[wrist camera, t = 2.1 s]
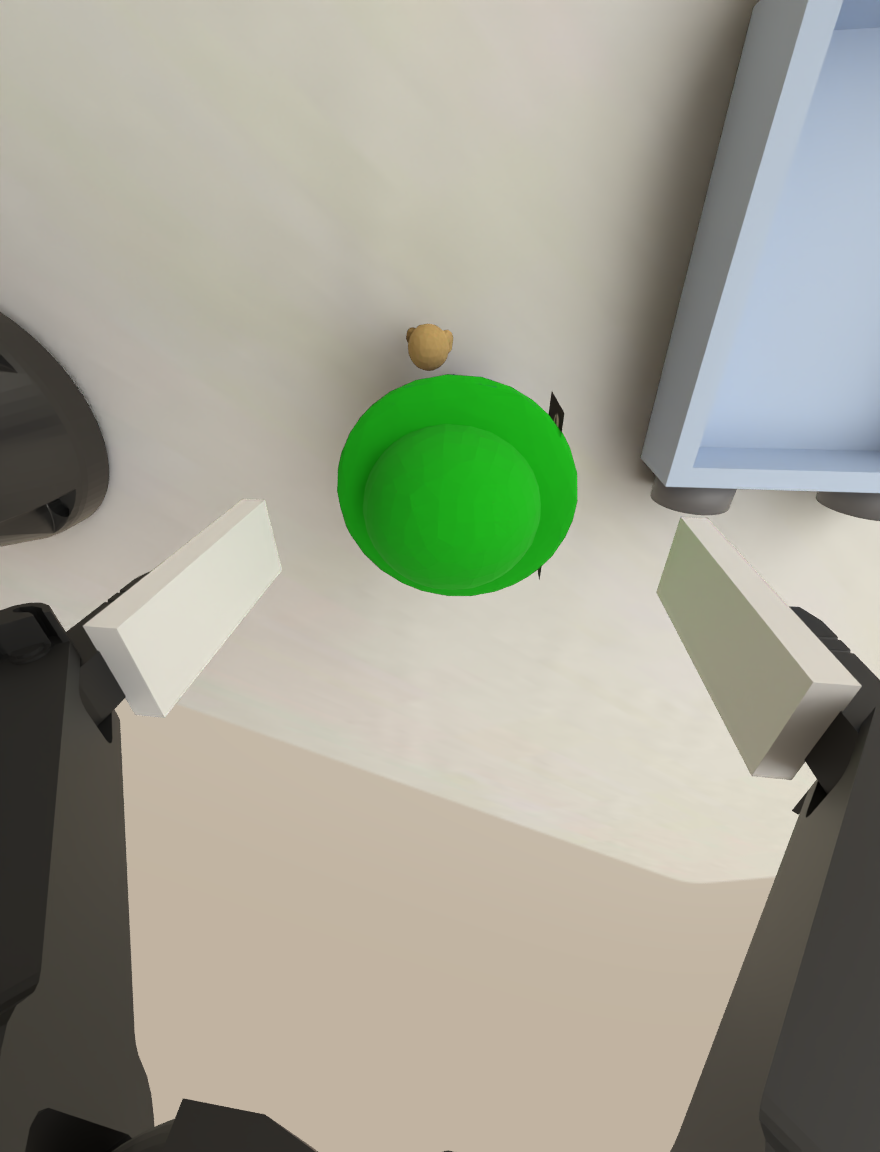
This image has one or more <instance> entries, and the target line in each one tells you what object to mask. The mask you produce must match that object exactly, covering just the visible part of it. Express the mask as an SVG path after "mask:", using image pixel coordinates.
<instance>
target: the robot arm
mask: <svg viewBox="0 0 880 1152" xmlns="http://www.w3.org/2000/svg"><path fill="white" fill-rule="evenodd" d="M108 481H109V464H108V457H107V451H106V447H105V443H104V440H103V437H102V434H101V431H100V429H99V426H98V424H97V422H96V420H95V417H94V415H93V413H92V411H91V410H90V408H89V406H88V404H87V402H86V401H85V399H84V397H83V396H82V394H81V393H80V391H79V390H78V388H77V387H76V385H75V384H74V382H73V381H72V380H71V378H70V377H69V376H68V374H67V373H66V372H65V371H64V369H63V368H62V367H61V366H60V365H59V364H58V362H57V361H56V360H55V359H54V358H53V357H52V356H51V355H50V354H49V353H48V352H47V351H46V350H45V348H44V347H42V346H41V345H40V344H39V343H38V342H37V341H36V340H35V339H34V338H33V337H32V336H31V335H29V334H28V333H27V332H26V331H25V330H24V329H22V328H21V327H20V326H19V325H17V324H16V323H15V322H13V321H12V320H11V319H9V318H8V317H7V316H5V315H4V314H2V313H1V312H0V546H6V545H11V544H17V543H22V542H27V541H33V540H38V539H43V538H47V537H50V536H53V535H56V534H59V533H61V532H63V531H65V530H67V529H68V528H70V527H72V526H74V525H76V524H77V523H79V522H81V521H83V520H85V519H86V518H88V517H89V516H91V515H92V514H93V513H94V512H95V511H96V510H97V509H98V507H99V506H100V505H101V503H102V501H103V499H104V497H105V494H106V491H107V487H108ZM281 571H282V568H281V563H280V559H279V555H278V551H277V547H276V543H275V539H274V535H273V531H272V527H271V523H270V519H269V515H268V510H267V506H266V502H265V500H260V499H242V500H241V501H240V502H238V503H237V504H236V505H235V506H233V507H232V508H231V509H229V510H228V511H227V512H226V513H224V514H223V515H222V516H221V517H219V518H218V519H217V520H216V521H214V522H213V523H212V524H211V525H209V526H208V527H207V528H206V529H204V530H203V531H202V532H200V533H199V534H198V535H197V536H195V537H194V538H193V539H192V540H190V541H189V542H188V543H187V544H185V545H184V546H183V547H182V548H180V549H179V550H178V551H176V552H175V553H174V554H173V555H171V556H170V557H169V558H168V559H166V560H165V561H164V562H163V563H161V564H160V565H159V566H158V567H156V568H155V569H154V570H152V571H150V572H148V573H146V574H144V575H142V576H140V577H138V578H136V579H134V580H133V581H131V582H130V583H129V584H128V585H126V586H125V587H124V588H122V589H121V590H120V593H116V594H115V595H113V596H112V597H111V598H110V599H108V602H104V603H103V604H102V605H101V606H99V607H98V608H97V609H95V610H94V611H93V612H91V613H90V614H89V615H88V616H86V617H85V618H84V619H82V620H81V621H80V622H79V623H77V624H76V625H75V626H73V627H72V628H71V629H70V630H68V631H67V632H65V630H64V629H63V627H62V625H61V624H60V622H59V621H58V619H57V617H56V616H55V614H54V613H53V611H52V609H51V608H50V606H49V605H46V604H43V603H26V604H21V605H16V606H12V607H9V608H6V609H3V610H0V1152H318V1151H316V1150H315V1149H313V1148H312V1147H311V1146H309V1145H308V1144H307V1143H305V1142H304V1141H302V1140H301V1139H299V1138H298V1137H297V1136H295V1135H293V1134H292V1133H291V1132H289V1131H288V1130H286V1129H285V1128H284V1127H282V1126H281V1125H279V1124H278V1123H276V1122H275V1121H273V1120H272V1119H271V1118H269V1117H268V1116H266V1115H264V1114H259V1113H254V1112H249V1111H244V1110H239V1109H234V1108H229V1107H224V1106H218V1105H214V1104H208V1103H203V1102H198V1101H193V1100H188V1099H183V1100H182V1102H181V1105H180V1107H179V1110H178V1112H177V1115H176V1117H175V1119H173V1120H170V1121H168V1122H165V1123H163V1124H160V1125H158V1126H156V1127H154V1115H153V1107H152V1098H151V1092H150V1088H149V1083H148V1079H147V1075H146V1073H145V1070H144V1068H143V1065H142V1063H141V1061H140V1058H139V1056H138V1052H137V1048H136V1042H135V1034H134V1014H133V1013H134V1012H133V993H132V992H133V991H132V971H131V949H130V927H129V905H128V884H127V862H126V841H125V819H124V798H123V776H122V755H121V734H120V719H119V717H118V715H117V713H116V712H115V710H114V709H115V708H116V707H117V705H119V704H120V702H121V701H122V700H123V699H124V698H126V700H127V702H128V703H129V705H130V707H131V709H132V710H133V712H134V714H135V715H144V716H154V717H163V718H165V716H166V715H167V714H168V713H169V712H170V710H171V709H172V708H173V707H174V705H175V704H176V703H177V702H178V700H179V699H180V698H181V697H182V695H183V694H184V693H185V692H186V690H187V689H188V688H189V686H190V685H191V684H192V683H193V681H194V680H195V679H196V678H197V676H198V675H199V674H200V673H201V671H202V670H203V669H204V668H205V666H206V665H207V664H208V663H209V661H210V660H211V659H212V658H213V656H214V655H215V654H216V653H217V651H218V650H219V649H220V647H221V646H222V645H223V644H224V642H225V641H226V640H227V639H228V637H229V636H230V635H231V634H232V632H233V631H234V630H235V629H236V627H237V626H238V625H239V624H240V622H241V621H242V620H243V619H244V617H245V616H246V615H247V614H248V612H249V611H250V610H251V608H252V607H253V606H254V605H255V603H256V602H257V601H258V600H259V598H260V597H261V596H262V595H263V593H264V592H265V591H266V590H267V588H268V587H269V586H270V585H271V583H272V582H273V581H274V580H275V578H276V577H277V576H278V575H279V573H280V572H281ZM657 594H658V596H659V598H660V600H661V602H662V604H663V606H664V608H665V610H666V612H667V614H668V615H669V617H670V619H671V621H672V623H673V625H674V627H675V629H676V631H677V633H678V635H679V637H680V639H681V641H682V642H683V644H684V646H685V648H686V650H687V652H688V654H689V656H690V658H691V660H692V662H693V664H694V666H695V667H696V669H697V671H698V673H699V675H700V677H701V679H702V681H703V683H704V685H705V687H706V689H707V691H708V693H709V694H710V696H711V698H712V700H713V702H714V704H715V706H716V708H717V710H718V712H719V714H720V716H721V718H722V720H723V721H724V723H725V725H726V727H727V729H728V731H729V733H730V735H731V737H732V739H733V741H734V743H735V745H736V747H737V748H738V750H739V752H740V754H741V756H742V758H743V760H744V762H745V764H746V766H747V768H748V770H749V772H750V774H751V775H752V776H757V777H767V778H777V779H787V780H792V779H793V777H794V776H795V775H796V773H797V772H798V771H799V769H800V768H801V767H802V765H803V764H804V763H805V761H806V763H807V764H808V766H809V767H810V769H811V771H812V772H813V774H814V775H815V777H816V778H817V780H816V781H815V783H814V784H813V785H812V786H811V788H810V789H809V790H808V791H807V793H806V794H805V795H804V796H803V797H802V799H801V800H800V801H799V802H798V804H797V805H796V806H795V807H794V809H793V810H792V811H793V812H795V813H797V814H798V815H799V817H798V820H797V822H796V825H795V828H794V830H793V833H792V835H791V838H790V841H789V843H788V846H787V849H786V851H785V854H784V857H783V859H782V862H781V865H780V867H779V870H778V872H777V875H776V878H775V880H774V883H773V886H772V888H771V891H770V894H769V896H768V899H767V902H766V905H765V907H764V910H763V912H762V915H761V918H760V920H759V923H758V926H757V928H756V931H755V933H754V936H753V939H752V942H751V944H750V947H749V949H748V952H747V954H746V957H745V960H744V962H743V965H742V968H741V970H740V973H739V976H738V978H737V981H736V984H735V986H734V989H733V992H732V994H731V997H730V999H729V1002H728V1005H727V1007H726V1010H725V1013H724V1015H723V1018H722V1021H721V1023H720V1026H719V1029H718V1031H717V1034H716V1036H715V1039H714V1042H713V1044H712V1047H711V1050H710V1053H709V1055H708V1058H707V1060H706V1063H705V1066H704V1068H703V1071H702V1074H701V1076H700V1079H699V1081H698V1084H697V1087H696V1090H695V1092H694V1095H693V1098H692V1100H691V1103H690V1106H689V1108H688V1111H687V1113H686V1116H685V1119H684V1121H683V1124H682V1126H681V1129H680V1132H679V1134H678V1136H677V1139H676V1141H675V1144H674V1145H673V1147H672V1149H671V1151H670V1152H880V680H879V679H878V678H877V677H876V676H875V675H874V674H873V673H872V672H871V671H870V670H869V669H868V667H867V666H866V665H865V664H864V663H863V662H862V661H861V660H860V659H859V658H858V657H857V656H856V655H855V654H853V653H850V649H849V648H848V647H847V646H846V645H845V644H844V643H843V642H842V641H841V640H838V639H837V638H838V637H837V636H836V635H835V634H834V633H833V632H832V631H831V630H830V629H829V628H828V627H827V626H826V625H825V624H824V623H823V622H822V621H821V620H819V619H818V618H816V617H815V616H813V615H811V614H810V613H808V612H807V611H805V610H803V609H802V608H800V607H789V606H788V605H787V604H786V603H785V602H784V601H783V600H782V598H781V597H780V596H779V595H778V594H777V593H776V592H775V591H774V590H773V589H772V588H771V586H770V585H769V584H768V583H767V582H766V581H765V580H764V579H763V578H762V577H761V576H760V575H759V573H758V572H757V571H756V570H755V569H754V568H753V567H752V566H751V565H750V564H749V563H748V561H747V560H746V559H745V558H744V557H743V556H742V555H741V554H740V553H739V552H738V551H737V549H736V548H735V547H734V546H733V545H732V544H731V543H730V542H729V541H728V540H727V539H726V537H725V536H724V535H723V534H722V533H721V532H720V531H719V530H718V529H717V528H716V527H715V526H714V524H713V523H712V522H711V521H710V520H709V519H708V518H691V517H681V518H680V521H679V524H678V527H677V530H676V533H675V536H674V540H673V543H672V546H671V549H670V552H669V555H668V558H667V561H666V564H665V567H664V570H663V573H662V577H661V580H660V583H659V586H658V589H657ZM444 1152H452V1151H444Z"/></svg>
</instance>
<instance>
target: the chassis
mask: <svg viewBox="0 0 880 1152" xmlns="http://www.w3.org/2000/svg"><path fill="white" fill-rule="evenodd" d="M641 459H642V460H643V461H644V462H645V463H646V465H647V466H648V467H649V468H650V469H651V470H652V472H653V473H654V474H655V475H656V477H655V480H654V484H653V487H652V491H651V498H652V499H653V500H654V501H655V502H656V503H658V504H660V505H662V506H664V507H666V508H669V509H671V510H675V511H678V512H683V513H688V514H695V515H716V514H721V513H724V512H726V511H727V510H728V509H729V507H730V505H731V502H732V500H733V497H734V494H735V492H736V489H760V490H793V491H818V493H817V495H816V499H817V501H818V502H820V503H821V504H822V505H824V506H826V507H828V508H830V509H832V510H835V511H837V512H840V513H843V514H847V515H850V516H854V517H858V518H863V519H868V520H875V521H880V0H760V1H759V2H758V3H757V4H756V5H755V6H754V7H753V11H752V15H751V19H750V23H749V27H748V31H747V35H746V39H745V43H744V47H743V51H742V55H741V59H740V63H739V67H738V71H737V75H736V79H735V83H734V87H733V91H732V95H731V99H730V103H729V107H728V111H727V115H726V119H725V123H724V127H723V131H722V135H721V139H720V143H719V147H718V151H717V154H716V158H715V162H714V166H713V170H712V174H711V178H710V182H709V186H708V190H707V194H706V198H705V202H704V206H703V210H702V214H701V218H700V222H699V226H698V230H697V234H696V238H695V242H694V246H693V250H692V254H691V258H690V262H689V266H688V270H687V274H686V278H685V282H684V286H683V290H682V294H681V298H680V302H679V306H678V310H677V314H676V318H675V322H674V326H673V330H672V334H671V338H670V342H669V346H668V350H667V354H666V358H665V362H664V366H663V370H662V374H661V378H660V382H659V386H658V390H657V394H656V398H655V402H654V406H653V410H652V414H651V418H650V422H649V426H648V430H647V434H646V438H645V442H644V446H643V450H642V454H641Z"/></svg>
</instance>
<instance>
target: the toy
mask: <svg viewBox="0 0 880 1152" xmlns="http://www.w3.org/2000/svg"><path fill="white" fill-rule="evenodd" d="M406 339H407V342H408V352H409V355H410V358H411V360H412V362H413V363H414V364H415V365H416V366H417V367H418V368H420V369H423V370H427V371H431V370H435V369H437V368H439V367H440V366H441V365H442V364H443V363H444V362H445V360H446V359H447V356H448V353H449V352H450V351H451V350H452V343H453V335H452V333H451V332H450V331H449V330H444V331H443V330H441V329H440V328H439V327H438V326H436V325H432V324H424V325H419V326H418V327H417V328H409V329H408V331H407V336H406ZM563 419H564V412H563V410H562V408H561V406H560V405H559V403H558V401H557V399H556V398H555V396H554V394H553V392H552V393H551V401H550V408H549V415H548V414H547V413H546V412H545V411H544V410H543V409H542V408H541V407H540V406H539V405H537V404H536V403H535V402H534V401H533V400H532V399H530V398H528V397H527V396H525V395H523V394H522V393H520V392H519V391H517V390H515V389H514V388H512V387H510V386H507V385H504V384H501V383H498V382H495V381H492V380H489V379H486V378H483V377H474V376H462V375H454V374H453V375H449V374H447V375H442V376H436V377H431V378H425V379H419V380H415V381H413V382H411V383H408V384H406V385H404V386H402V387H399V388H397V389H395V390H393V391H391V392H389V393H388V394H386V395H385V396H384V397H382V398H381V399H380V400H378V401H377V402H376V403H374V404H373V405H372V406H371V407H370V408H369V409H368V410H367V411H366V412H365V413H364V414H363V415H362V416H361V417H360V419H359V420H358V422H357V423H356V425H355V426H354V428H353V429H352V431H351V432H350V434H349V436H348V439H347V441H346V443H345V446H344V448H343V450H342V453H341V457H340V462H339V467H338V486H337V492H338V497H339V502H340V507H341V510H342V514H343V517H344V520H345V524H346V527H347V529H348V531H349V533H350V534H351V536H352V537H353V539H354V540H355V542H356V543H357V544H358V546H359V547H360V549H361V550H362V551H363V553H364V554H365V555H366V556H367V557H368V558H369V559H370V560H371V561H372V562H373V563H374V564H375V565H376V566H377V567H379V568H380V569H381V570H382V571H384V572H385V573H387V574H389V575H390V576H392V577H393V578H395V579H397V580H398V581H400V582H401V583H404V584H406V585H409V586H411V587H414V588H416V589H419V590H421V591H426V592H430V593H435V594H441V595H446V596H473V595H479V594H484V593H490V592H495V591H498V590H500V589H503V588H506V587H509V586H511V585H514V584H516V583H517V582H519V581H521V580H523V579H525V578H527V577H528V576H530V575H531V574H532V573H534V572H535V571H536V570H538V575H539V579H540V572H541V566H542V565H543V564H544V563H545V562H546V561H547V560H548V559H549V558H551V557H552V556H553V554H554V553H555V551H556V550H557V548H558V547H559V545H560V544H561V542H562V541H563V540H564V538H565V536H566V534H567V532H568V530H569V527H570V525H571V523H572V521H573V517H574V513H575V509H576V504H577V471H576V468H575V464H574V461H573V457H572V454H571V450H570V447H569V445H568V443H567V441H566V439H565V437H564V435H563V433H562V425H563Z"/></svg>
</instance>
